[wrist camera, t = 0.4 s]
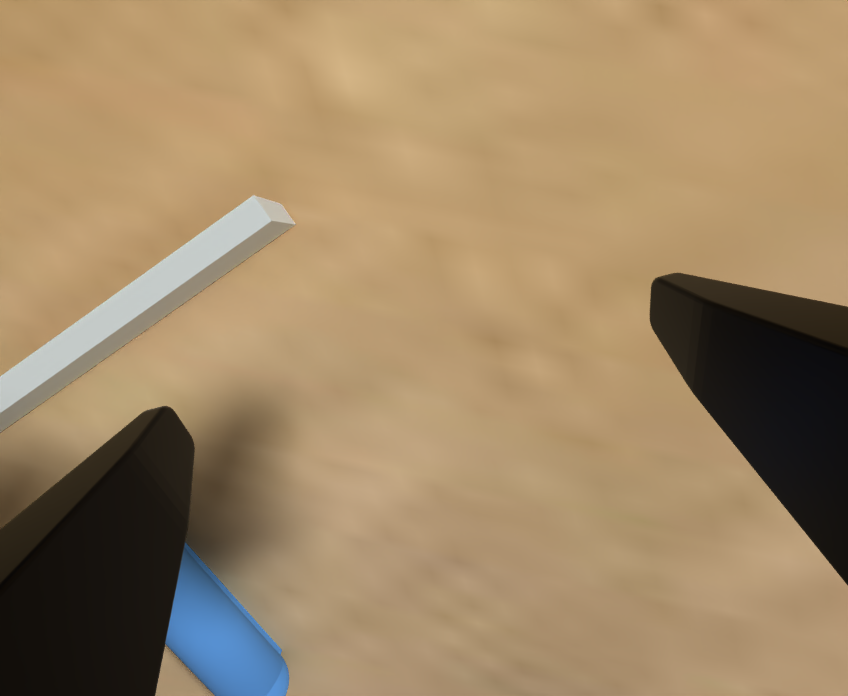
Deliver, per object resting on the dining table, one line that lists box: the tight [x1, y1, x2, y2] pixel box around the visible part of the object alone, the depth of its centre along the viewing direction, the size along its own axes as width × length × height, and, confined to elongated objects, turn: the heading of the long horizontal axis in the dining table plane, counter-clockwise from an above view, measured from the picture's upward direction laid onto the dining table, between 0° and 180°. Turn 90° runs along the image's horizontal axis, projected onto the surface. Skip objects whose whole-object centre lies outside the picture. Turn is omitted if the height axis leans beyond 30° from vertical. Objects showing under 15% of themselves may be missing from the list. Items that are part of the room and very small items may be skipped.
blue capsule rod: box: [165, 542, 289, 696], centre depth 23 cm, size 14×3×3 cm, turn 34°
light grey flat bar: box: [0, 195, 296, 432], centre depth 19 cm, size 23×1×4 cm, turn 124°
